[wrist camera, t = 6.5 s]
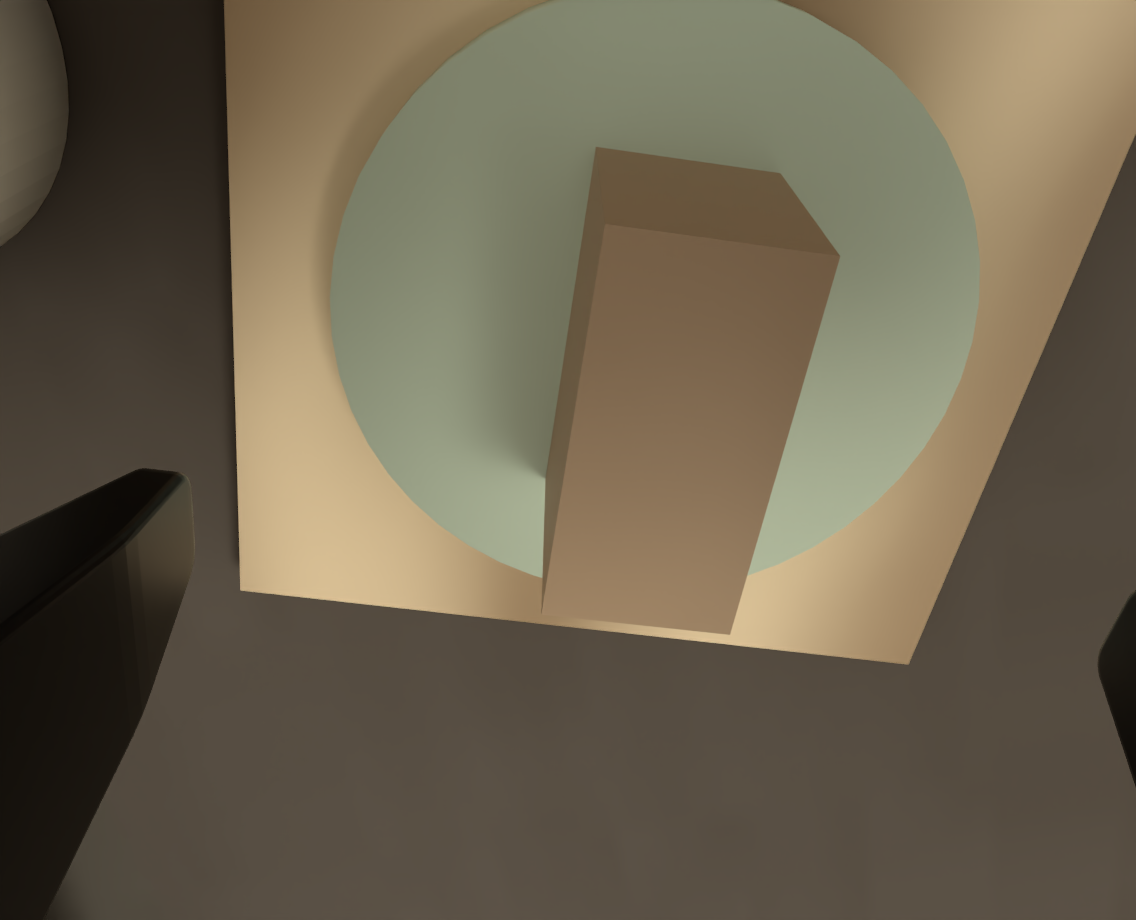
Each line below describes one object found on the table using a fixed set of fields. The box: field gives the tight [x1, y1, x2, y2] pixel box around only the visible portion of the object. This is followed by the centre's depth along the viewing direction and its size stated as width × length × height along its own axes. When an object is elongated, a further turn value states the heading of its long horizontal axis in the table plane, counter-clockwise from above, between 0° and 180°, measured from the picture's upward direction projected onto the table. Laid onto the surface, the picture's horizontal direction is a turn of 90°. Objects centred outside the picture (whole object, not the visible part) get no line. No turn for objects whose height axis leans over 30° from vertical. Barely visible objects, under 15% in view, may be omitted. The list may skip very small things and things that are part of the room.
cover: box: [330, 0, 980, 635], centre depth 13 cm, size 9×9×4 cm
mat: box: [224, 0, 1136, 664], centre depth 15 cm, size 12×12×1 cm
